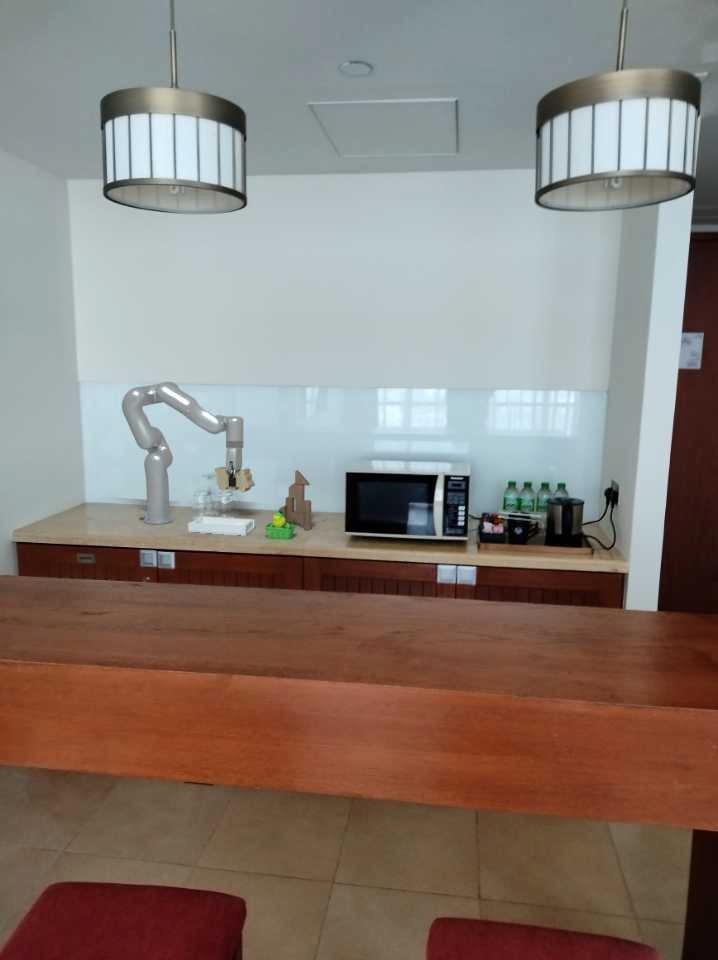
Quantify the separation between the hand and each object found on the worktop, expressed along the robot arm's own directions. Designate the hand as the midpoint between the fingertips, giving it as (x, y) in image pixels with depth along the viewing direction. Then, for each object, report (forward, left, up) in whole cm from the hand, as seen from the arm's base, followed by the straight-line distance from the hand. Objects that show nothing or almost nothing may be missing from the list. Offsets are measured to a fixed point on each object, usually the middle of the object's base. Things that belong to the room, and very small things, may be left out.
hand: (234, 484), depth 303 cm
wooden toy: (+28, -2, -18) cm, 33 cm away
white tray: (-1, -15, -17) cm, 23 cm away
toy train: (0, 0, -3) cm, 3 cm away
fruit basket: (+26, -21, -18) cm, 38 cm away
